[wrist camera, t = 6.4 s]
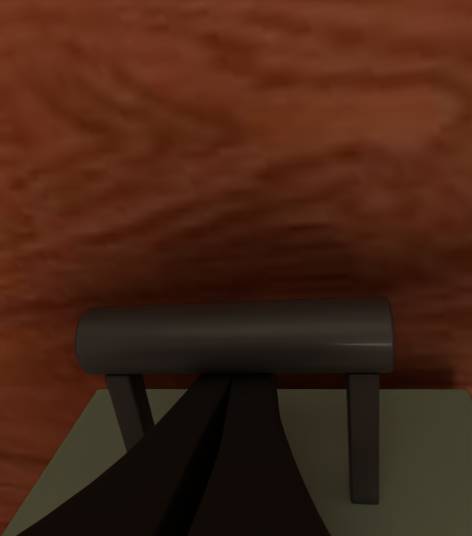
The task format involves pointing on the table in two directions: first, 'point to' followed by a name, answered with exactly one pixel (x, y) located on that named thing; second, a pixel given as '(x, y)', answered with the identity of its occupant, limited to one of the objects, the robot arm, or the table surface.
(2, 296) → the table surface
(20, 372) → the table surface
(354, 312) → the drawer
